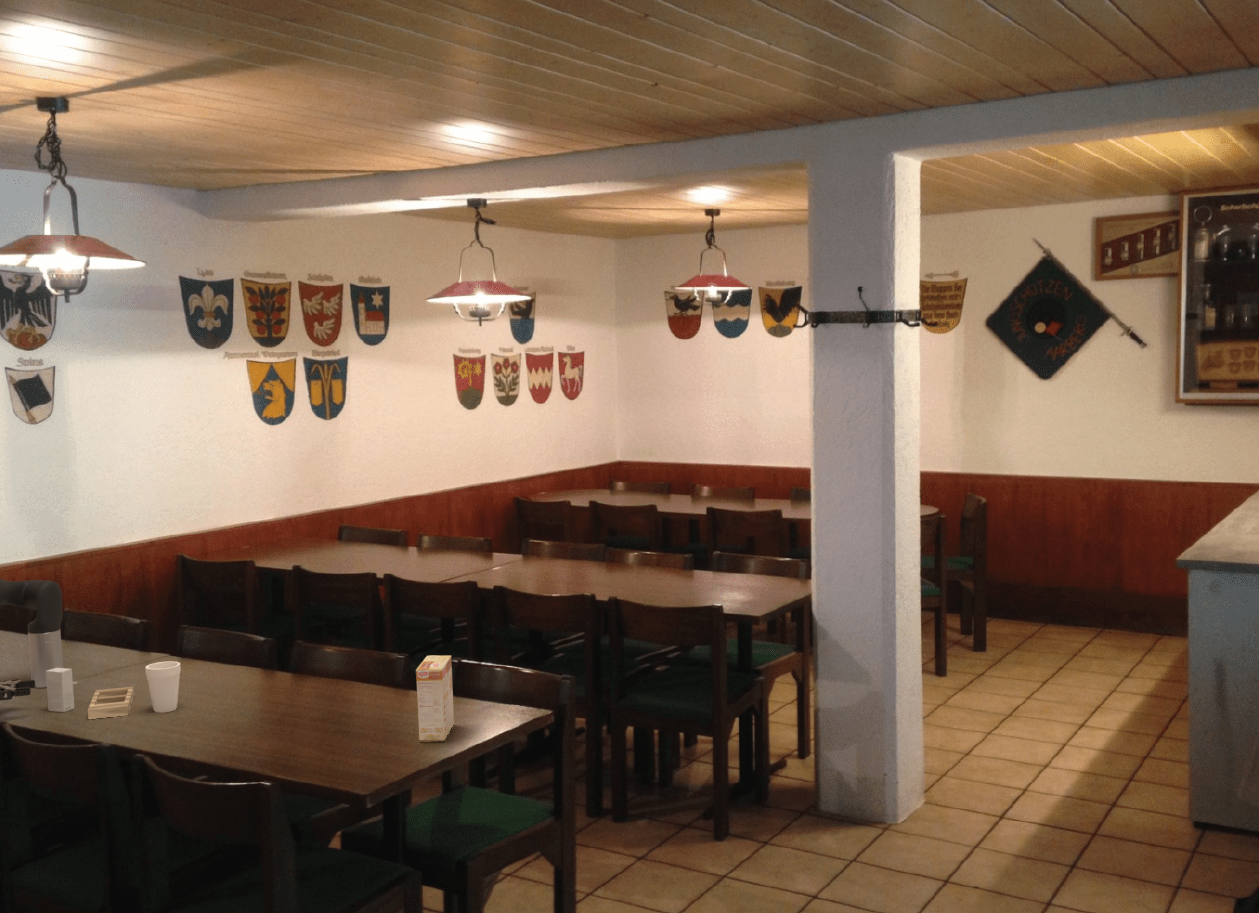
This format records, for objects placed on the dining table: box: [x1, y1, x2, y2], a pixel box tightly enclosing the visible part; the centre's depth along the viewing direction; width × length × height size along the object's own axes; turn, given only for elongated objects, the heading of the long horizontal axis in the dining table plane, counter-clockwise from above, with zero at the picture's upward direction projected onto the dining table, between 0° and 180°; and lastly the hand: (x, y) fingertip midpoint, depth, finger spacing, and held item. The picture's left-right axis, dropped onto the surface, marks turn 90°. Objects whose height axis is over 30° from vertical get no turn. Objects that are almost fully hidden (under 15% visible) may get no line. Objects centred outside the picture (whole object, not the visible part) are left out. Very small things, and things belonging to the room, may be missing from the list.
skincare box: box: [46, 667, 75, 713], centre depth 351 cm, size 6×4×12 cm
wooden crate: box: [87, 686, 135, 720], centre depth 352 cm, size 22×10×3 cm, turn 19°
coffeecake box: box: [415, 654, 455, 741], centre depth 319 cm, size 15×7×20 cm, turn 178°
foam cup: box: [144, 660, 182, 713], centre depth 349 cm, size 10×9×13 cm
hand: (32, 687), depth 349 cm, fingers open, 8 cm apart
